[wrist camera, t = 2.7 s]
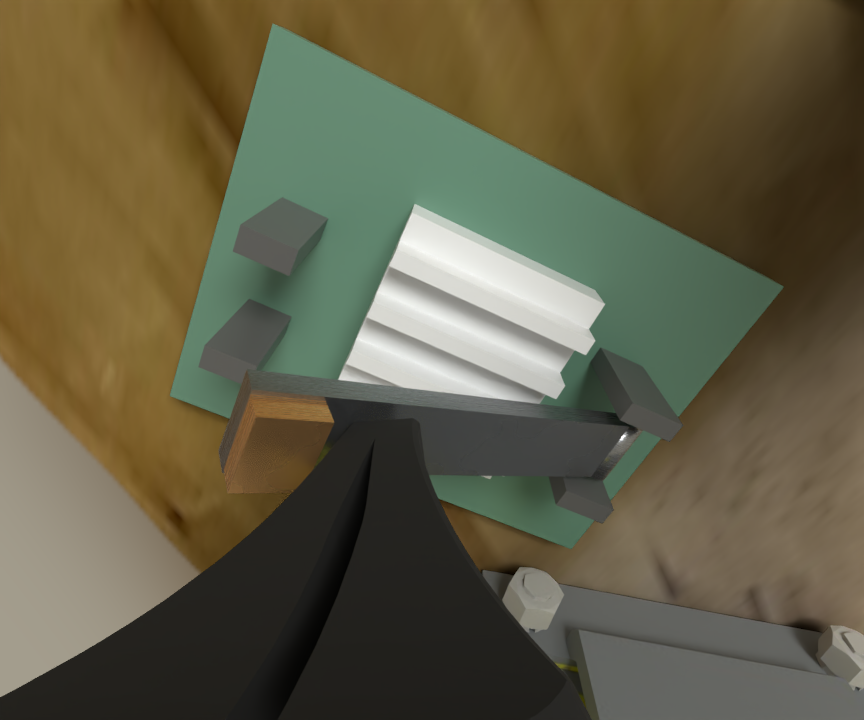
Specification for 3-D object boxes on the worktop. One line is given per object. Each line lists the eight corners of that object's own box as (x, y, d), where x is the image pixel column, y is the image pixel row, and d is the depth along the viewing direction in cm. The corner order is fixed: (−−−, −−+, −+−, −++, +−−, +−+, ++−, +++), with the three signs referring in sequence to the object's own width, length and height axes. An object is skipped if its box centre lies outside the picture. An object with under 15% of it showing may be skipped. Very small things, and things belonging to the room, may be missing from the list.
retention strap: (629, 411, 16) (660, 442, 15) (592, 459, 17) (620, 491, 16) (245, 363, 10) (258, 412, 9) (217, 445, 11) (226, 497, 10)
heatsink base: (766, 276, 17) (861, 333, 13) (566, 530, 22) (591, 626, 18) (283, 27, 14) (220, 5, 10) (182, 381, 19) (114, 456, 15)
